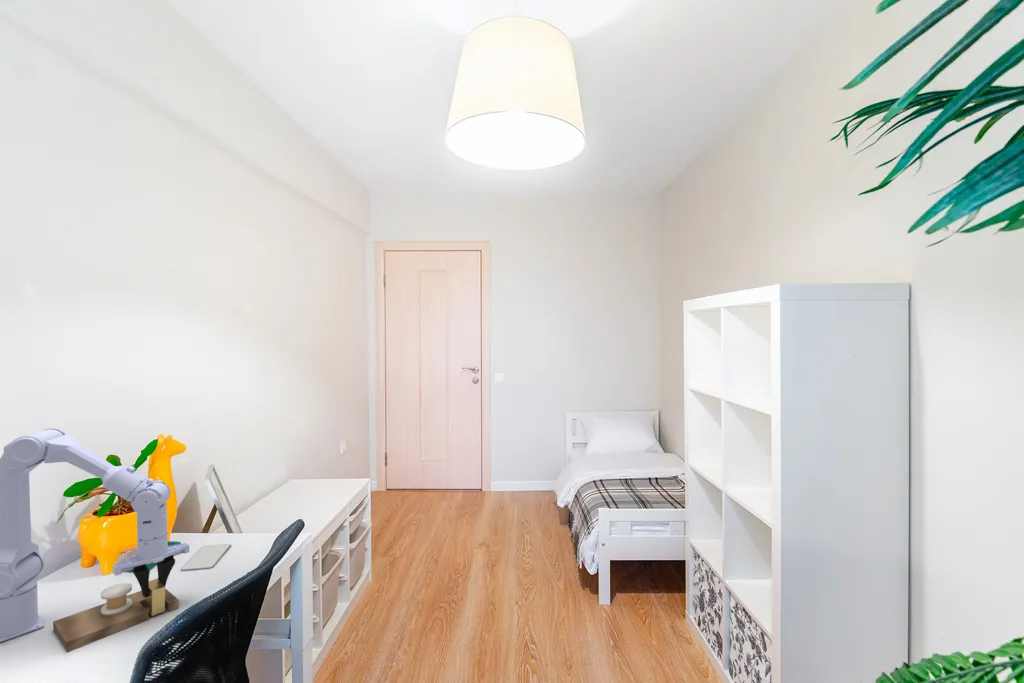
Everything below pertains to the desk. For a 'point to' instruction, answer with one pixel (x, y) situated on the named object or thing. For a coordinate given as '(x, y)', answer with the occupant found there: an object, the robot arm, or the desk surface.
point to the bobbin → (116, 599)
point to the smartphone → (206, 557)
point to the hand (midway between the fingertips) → (153, 592)
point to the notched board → (104, 621)
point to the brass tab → (155, 597)
